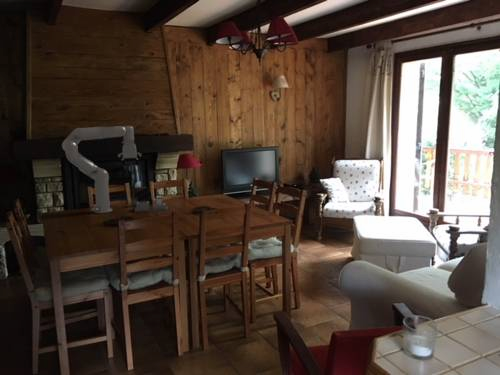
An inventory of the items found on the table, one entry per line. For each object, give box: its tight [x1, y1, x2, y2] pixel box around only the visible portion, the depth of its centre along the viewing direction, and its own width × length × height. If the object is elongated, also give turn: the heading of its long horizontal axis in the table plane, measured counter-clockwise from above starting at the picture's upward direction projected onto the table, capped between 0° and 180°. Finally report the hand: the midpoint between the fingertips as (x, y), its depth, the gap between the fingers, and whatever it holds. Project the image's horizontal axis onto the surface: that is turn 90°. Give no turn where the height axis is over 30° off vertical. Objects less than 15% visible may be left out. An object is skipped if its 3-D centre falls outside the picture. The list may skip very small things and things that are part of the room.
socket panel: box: [134, 201, 169, 213], centre depth 319 cm, size 24×11×6 cm, turn 103°
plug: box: [155, 195, 163, 205], centre depth 320 cm, size 4×4×9 cm
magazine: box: [134, 185, 153, 206], centre depth 336 cm, size 4×13×15 cm, turn 125°
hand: (130, 165), depth 323 cm, fingers open, 9 cm apart
